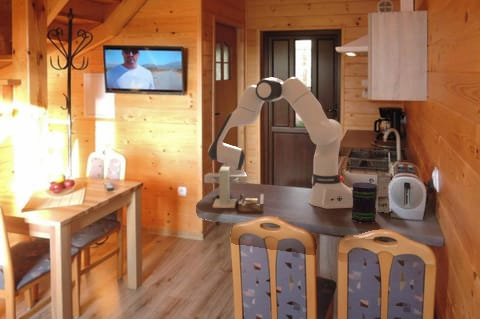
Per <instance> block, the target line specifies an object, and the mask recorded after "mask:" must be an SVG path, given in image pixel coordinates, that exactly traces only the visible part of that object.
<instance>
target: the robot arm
mask: <svg viewBox="0 0 480 319" xmlns="http://www.w3.org/2000/svg"><path fill="white" fill-rule="evenodd" d="M281 100H286V101H287V102H288V104H289V105H290V106H291V108H292V109H293V110H294V111H295V113H296V115H298V117H299V119H300V120H301V122H302V124H303V125H304V127H305V129H306V131H307V133H308V135H309V138H310V140H311V142H312V143H313V144H315V145H316V147H315V152H314V155H313V169H312V170H313V171H312V172H313V173H312V174H311V185H312V188H311V195H310V198H309V201H308V204H310V205H311V206H315V207H320V208H323V209H327V210H328V209H329V210H330V209H352V206H353V198H352V190H351V189H350V188H349V187H348V186H347V185H345V183H343V182H344V180H345V178H344V177H343V176H342V175H340V174H339V172H338V170H339V169H338V168H339V166H338V165H339V153H340V147H341V142H342V141H341V139H342V134H343V133H342V132H343V129H342V128H343V127H342V125H341V123H340V122H339V121H337V120H336V119H333V118H331V119H330V118H328V117H327V115H326V114H325V111H324V109H323V107H322V104H321V102H319V100H318V99H317V98H316V97H315V95H314V94H313V92H312V91H311V90H310V89H309V87H308V86H307V85H306V84H304V83H303V81H302V80H301V79H299V78H298V77H296V76H292V77H289V78H287V79H286V80H284V79H282V78H281V77H267V78H262V79H260V80H259V81H258V82H257V84H256V85H254V84H253V85H252V84H251V85H248V86H247V87H246V88H245V89H244V91H243V93H242V94H241V97H240V99H239V102H238V105H237V107H236V109H235V110H234V111H232V112H229V113H228V115H227V116H226V118H225V120H223V123H222V124H221V126H220V128H219V130H218V132H217V135H216V137H215V138H214V140H213V141H212V142H211V144H210V145H209V147H208V150H207V156H208V157H209V159H210V160H211V161H215V162H219V163H223V164H222V165H221V167H230V185H234V184H235V185H236V184H247V183H248V178H247V177H248V175H247V173H246V172H245V169H242V168H243V165H244V163H245V156H246V154H245V151H244V150H243V149H242V148H240V147H237V146H234V145H230V144H227V143H225V142H224V139H225V137H226V136H227V134H228V131H229V130H230V129H231V128H234V127H244V126H245V127H247V126H251V125H253V124H254V123H256V122H257V120H258V119H259V117H260V116H259V115H260V114H261V111H262V107H263V105H264V103H265V102H277V101H281ZM203 181H204V184H219V171H218V172H208V173H206V174H204V180H203Z"/></svg>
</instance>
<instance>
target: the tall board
mask: <svg viewBox="0 0 480 319" xmlns="http://www.w3.org/2000/svg"><path fill="white" fill-rule="evenodd" d="M218 172H219V183H218V184H219V199H220V205H229V201H230V199H231V184H230V167H222V166H221V167H220V168H219V170H218Z"/></svg>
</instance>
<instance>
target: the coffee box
mask: <svg viewBox="0 0 480 319" xmlns="http://www.w3.org/2000/svg"><path fill="white" fill-rule="evenodd" d="M376 176H377V177H376V185H377V199H376V207H375V208H376V213H381V212H384V214H386V213H387V214H390V213H389V199H388V185H389V183H390V181H391V180H392V178H393V177H394V175H393V174H392V173H390V172H388V173H387V172H383V173H382V172H380V173H379V172H378V173H377V175H376Z"/></svg>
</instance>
